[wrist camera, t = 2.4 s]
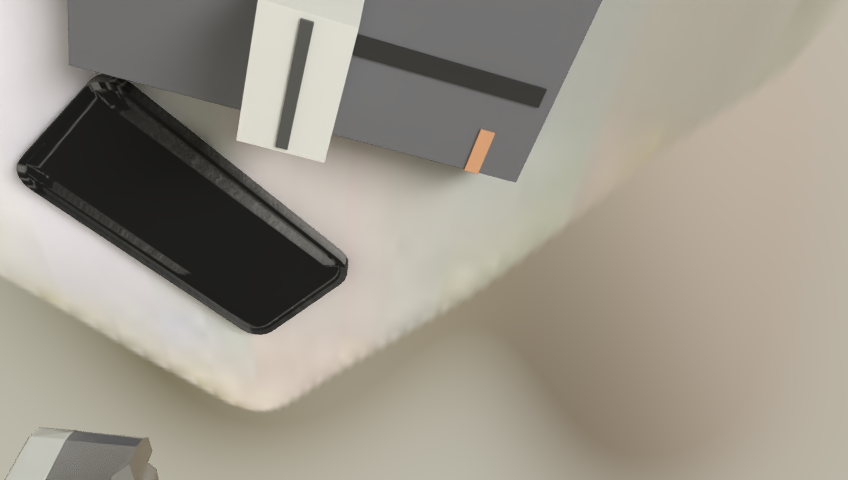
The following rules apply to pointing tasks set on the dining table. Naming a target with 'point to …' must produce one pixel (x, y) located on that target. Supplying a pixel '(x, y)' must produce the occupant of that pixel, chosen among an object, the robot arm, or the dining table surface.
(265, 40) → the fader knob
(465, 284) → the dining table surface
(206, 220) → the phone
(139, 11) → the mixer panel
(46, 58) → the dining table surface
